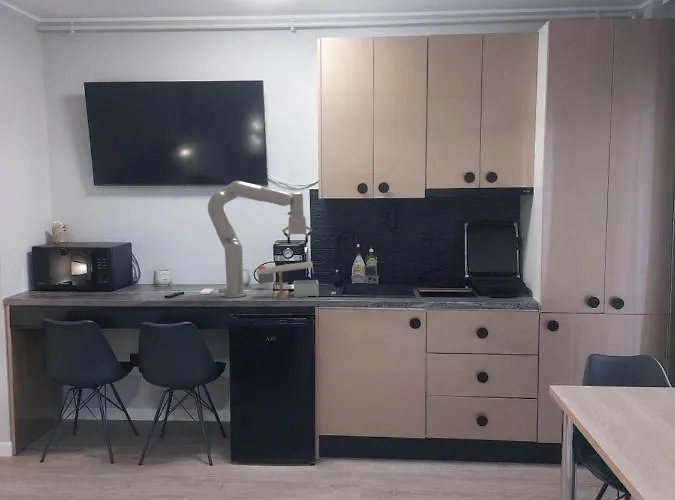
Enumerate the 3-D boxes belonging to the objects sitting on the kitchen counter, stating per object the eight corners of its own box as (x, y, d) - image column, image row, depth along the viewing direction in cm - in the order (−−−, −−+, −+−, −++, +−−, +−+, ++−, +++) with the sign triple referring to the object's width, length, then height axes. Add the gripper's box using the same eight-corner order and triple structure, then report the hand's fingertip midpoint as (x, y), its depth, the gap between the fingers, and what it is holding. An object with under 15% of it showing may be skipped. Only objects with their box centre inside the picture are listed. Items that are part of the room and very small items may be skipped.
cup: (294, 297, 333) (293, 284, 333) (294, 293, 347) (293, 280, 346) (318, 296, 334) (318, 283, 334) (317, 292, 348) (317, 280, 347)
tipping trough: (258, 283, 335) (256, 270, 334) (259, 279, 351) (258, 266, 350) (314, 276, 337) (312, 262, 336) (313, 271, 353) (311, 259, 352)
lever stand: (273, 298, 332) (272, 272, 331) (274, 293, 346) (273, 268, 345) (288, 297, 333) (287, 271, 331) (288, 293, 347) (287, 268, 345)
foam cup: (257, 289, 362) (256, 267, 361) (266, 287, 370) (265, 265, 369) (271, 290, 358) (270, 268, 356) (279, 287, 366) (278, 266, 364)
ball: (260, 273, 336) (256, 267, 335) (261, 272, 339) (257, 266, 339) (266, 270, 336) (262, 264, 335) (267, 269, 340) (263, 263, 339)
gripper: (281, 214, 341) (282, 245, 343) (312, 214, 342) (313, 244, 344) (281, 214, 349) (282, 243, 350) (311, 213, 350) (312, 242, 352)
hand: (297, 243), depth 347 cm, fingers open, 9 cm apart
